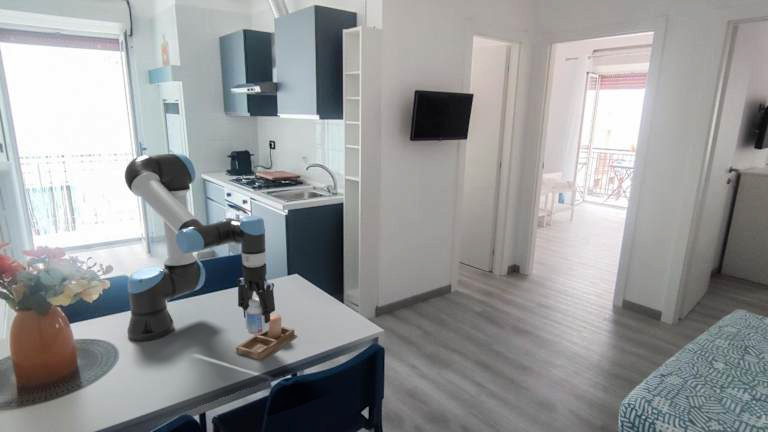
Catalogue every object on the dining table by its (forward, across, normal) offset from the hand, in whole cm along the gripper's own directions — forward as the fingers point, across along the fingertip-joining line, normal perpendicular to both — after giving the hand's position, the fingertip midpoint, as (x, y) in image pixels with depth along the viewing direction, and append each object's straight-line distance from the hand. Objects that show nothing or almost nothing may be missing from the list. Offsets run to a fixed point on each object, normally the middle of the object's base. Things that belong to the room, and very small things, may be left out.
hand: (257, 328), depth 146 cm
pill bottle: (+1, 0, 0) cm, 1 cm away
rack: (+9, 0, +4) cm, 10 cm away
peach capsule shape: (+8, 0, +9) cm, 12 cm away
